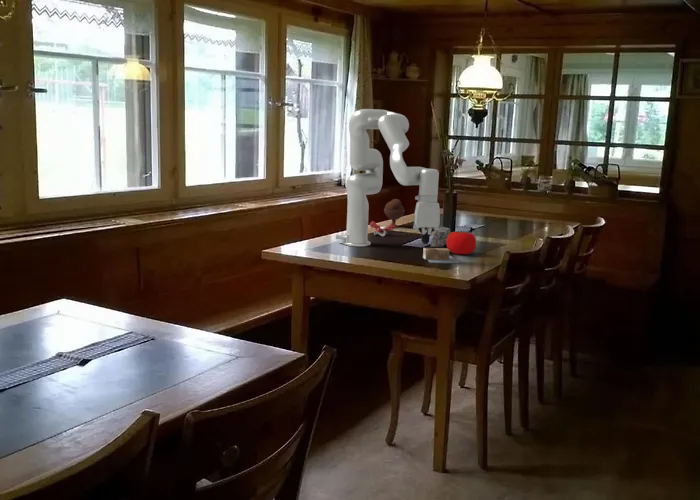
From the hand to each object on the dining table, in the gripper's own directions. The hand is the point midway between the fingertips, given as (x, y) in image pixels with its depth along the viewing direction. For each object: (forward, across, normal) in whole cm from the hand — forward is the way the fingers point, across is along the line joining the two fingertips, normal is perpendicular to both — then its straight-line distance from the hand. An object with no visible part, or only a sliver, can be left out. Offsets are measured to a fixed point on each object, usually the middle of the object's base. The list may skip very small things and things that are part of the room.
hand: (425, 243), depth 303 cm
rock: (+7, +14, +31) cm, 35 cm away
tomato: (+7, +19, +13) cm, 24 cm away
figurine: (+7, -9, +56) cm, 57 cm away
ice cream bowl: (+7, +2, +80) cm, 80 cm away
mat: (+7, +7, 0) cm, 10 cm away
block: (+4, 0, 0) cm, 4 cm away
